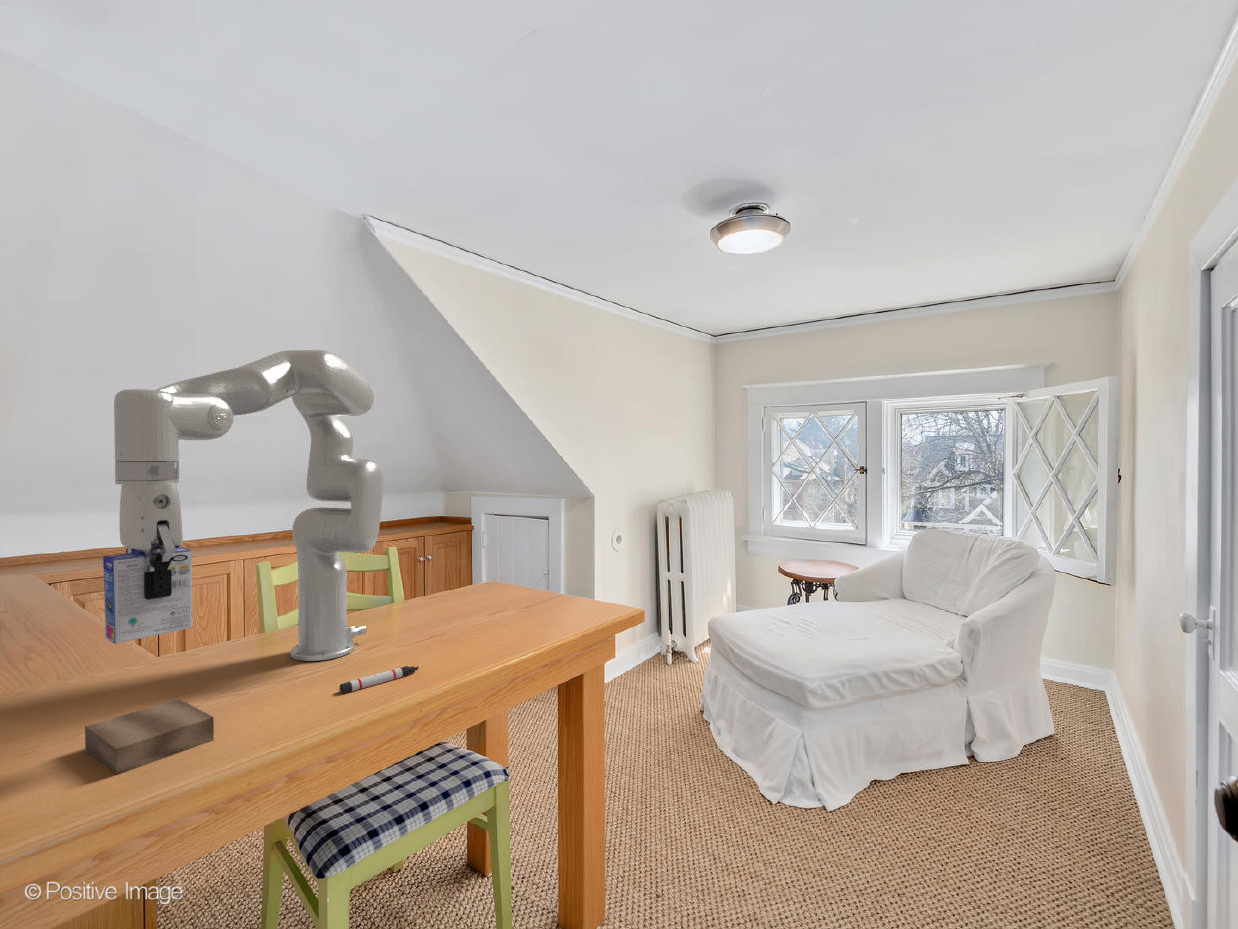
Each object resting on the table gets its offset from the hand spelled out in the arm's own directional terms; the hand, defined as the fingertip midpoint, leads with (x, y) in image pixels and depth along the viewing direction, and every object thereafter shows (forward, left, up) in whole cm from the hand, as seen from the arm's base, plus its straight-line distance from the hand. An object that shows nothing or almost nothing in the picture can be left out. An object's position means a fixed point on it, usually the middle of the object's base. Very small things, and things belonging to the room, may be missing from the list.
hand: (149, 593), depth 91 cm
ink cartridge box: (0, 0, -6) cm, 6 cm away
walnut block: (0, 0, -23) cm, 23 cm away
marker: (-35, +7, -23) cm, 43 cm away
